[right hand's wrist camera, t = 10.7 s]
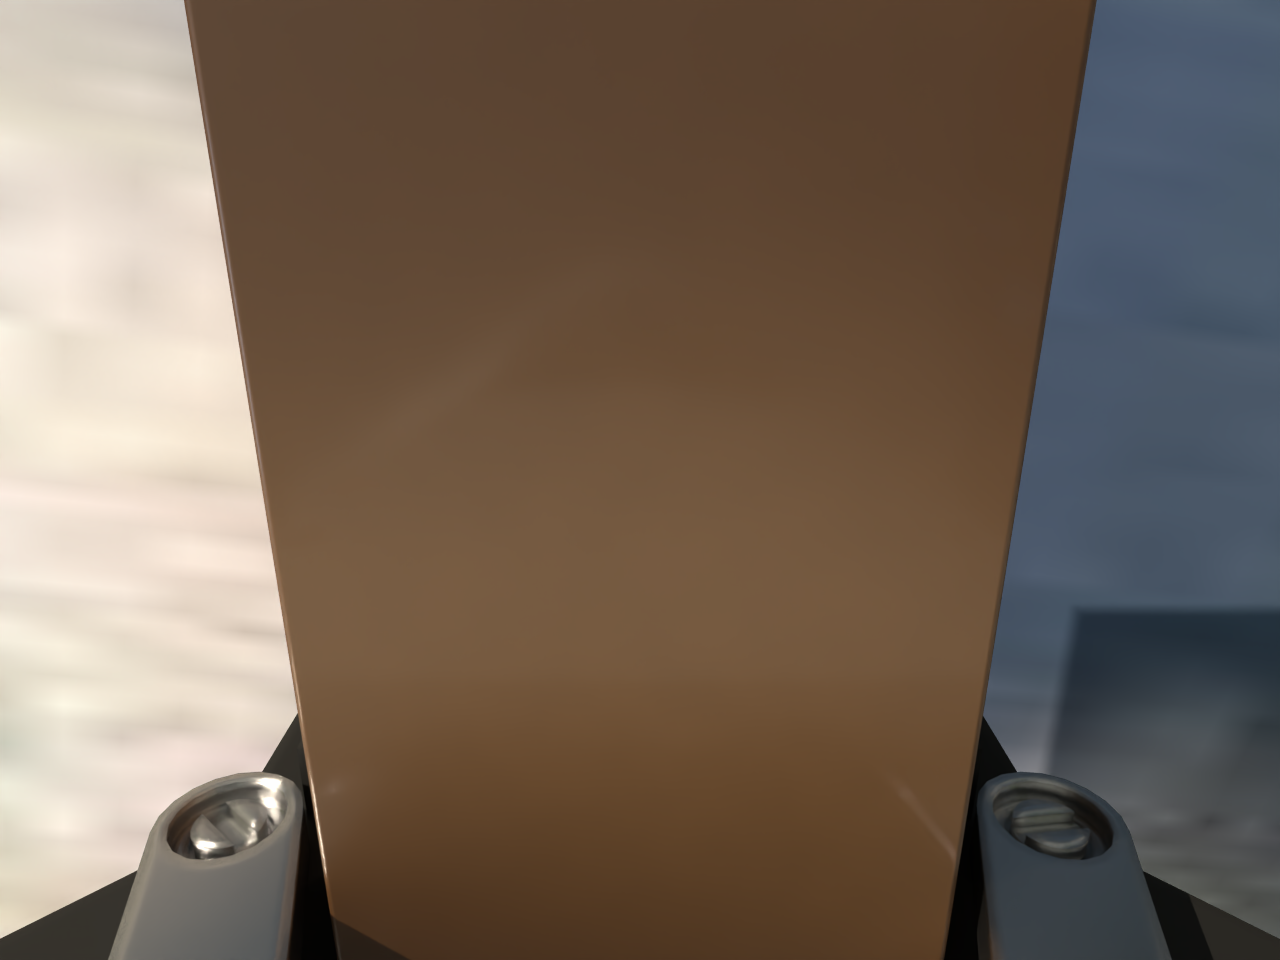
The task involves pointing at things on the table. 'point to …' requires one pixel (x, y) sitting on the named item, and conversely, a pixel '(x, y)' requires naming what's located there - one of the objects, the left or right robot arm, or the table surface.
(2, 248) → the table surface
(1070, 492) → the table surface
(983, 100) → the post
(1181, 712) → the table surface
